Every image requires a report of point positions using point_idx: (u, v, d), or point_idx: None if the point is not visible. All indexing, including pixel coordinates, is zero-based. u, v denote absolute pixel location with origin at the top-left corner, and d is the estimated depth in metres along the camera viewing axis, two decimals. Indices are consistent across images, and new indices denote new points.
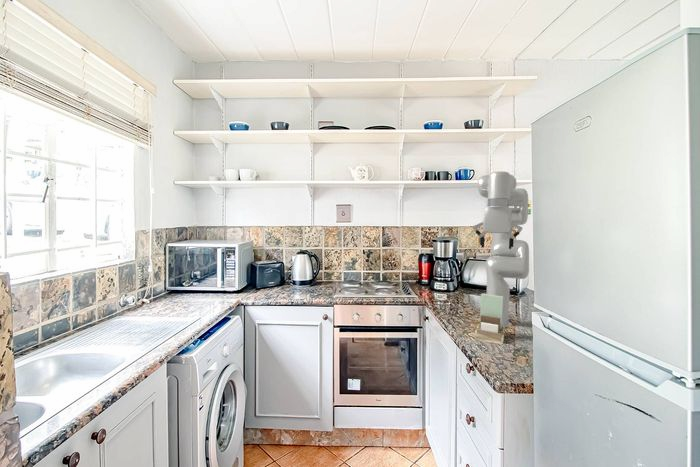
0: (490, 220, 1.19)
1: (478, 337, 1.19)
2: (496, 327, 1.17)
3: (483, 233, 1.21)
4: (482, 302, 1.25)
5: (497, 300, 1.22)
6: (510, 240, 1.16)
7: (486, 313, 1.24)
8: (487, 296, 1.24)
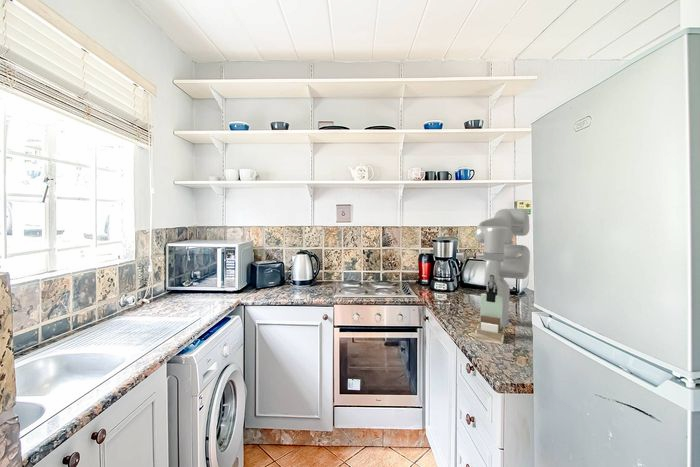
0: (498, 274, 1.20)
1: (478, 337, 1.19)
2: (496, 327, 1.17)
3: (495, 288, 1.19)
4: (482, 302, 1.25)
5: (497, 300, 1.22)
6: (497, 290, 1.27)
7: (486, 313, 1.24)
8: None
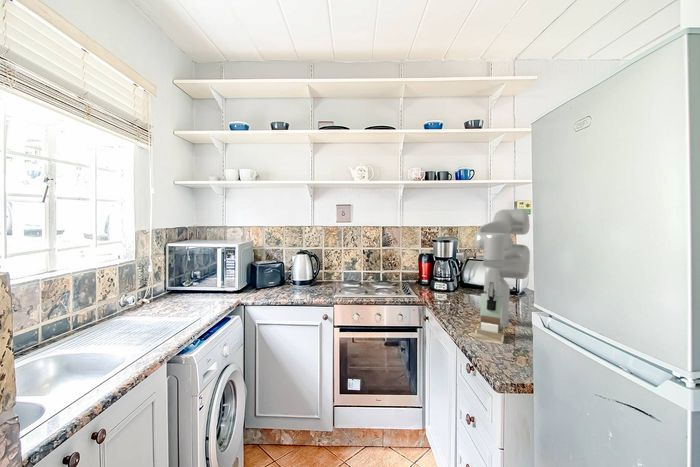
0: (498, 281, 1.21)
1: (478, 337, 1.19)
2: (496, 327, 1.17)
3: (495, 296, 1.22)
4: (482, 302, 1.25)
5: (497, 300, 1.22)
6: None
7: (486, 313, 1.24)
8: (487, 296, 1.24)
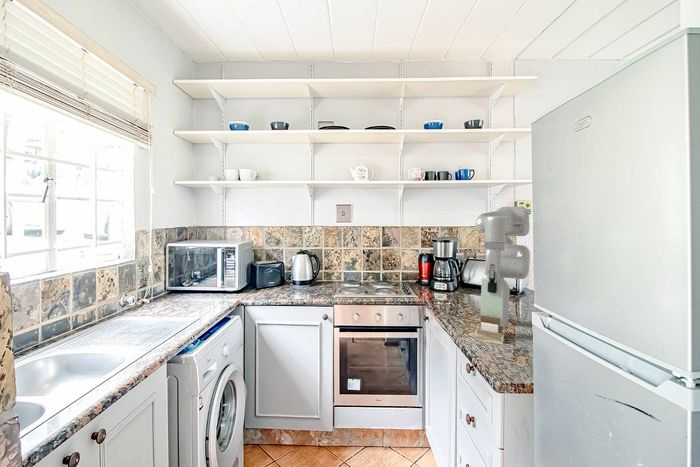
0: (499, 263, 1.21)
1: (478, 337, 1.19)
2: (496, 327, 1.17)
3: (496, 278, 1.22)
4: (483, 286, 1.25)
5: (498, 284, 1.22)
6: None
7: (487, 297, 1.24)
8: (488, 280, 1.24)
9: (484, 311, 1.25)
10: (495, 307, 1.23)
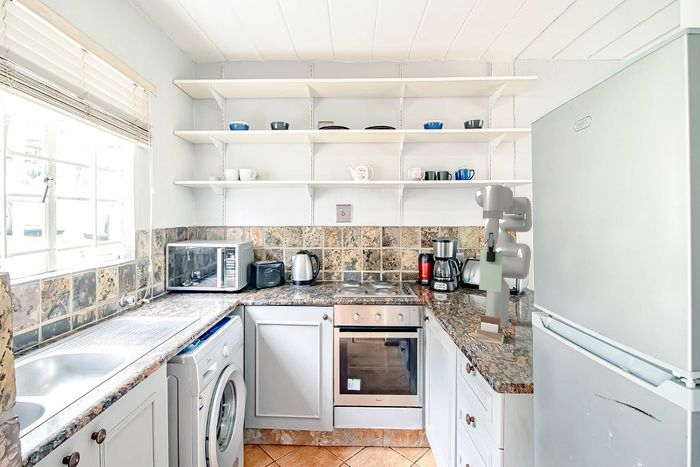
0: (497, 232, 1.21)
1: (478, 337, 1.19)
2: (496, 327, 1.17)
3: (494, 247, 1.22)
4: (481, 258, 1.25)
5: (496, 255, 1.22)
6: None
7: (486, 268, 1.24)
8: (486, 251, 1.24)
9: (482, 283, 1.25)
10: (494, 278, 1.23)
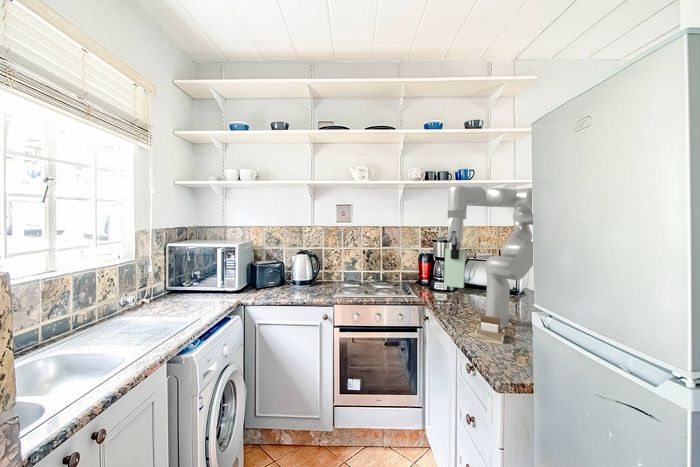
0: (460, 231, 1.27)
1: (478, 337, 1.19)
2: (496, 327, 1.17)
3: (458, 245, 1.28)
4: (446, 256, 1.32)
5: (460, 253, 1.29)
6: None
7: (450, 266, 1.31)
8: None
9: (447, 279, 1.32)
10: (457, 275, 1.30)
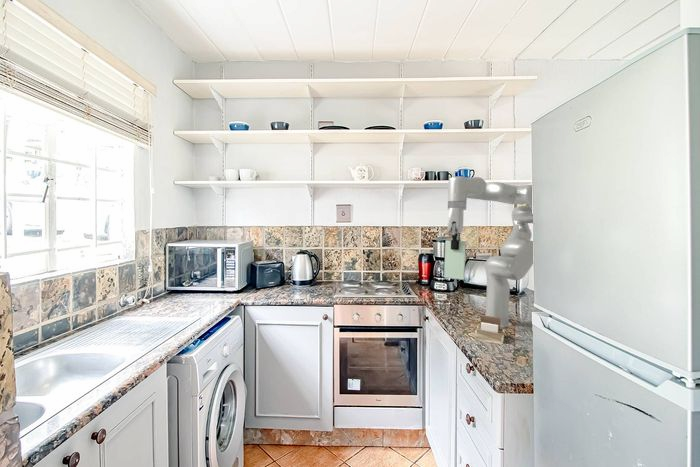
0: (460, 221, 1.27)
1: (478, 337, 1.19)
2: (496, 327, 1.17)
3: (458, 235, 1.28)
4: (446, 247, 1.32)
5: (460, 244, 1.29)
6: None
7: (450, 257, 1.31)
8: None
9: (447, 271, 1.32)
10: (457, 267, 1.30)
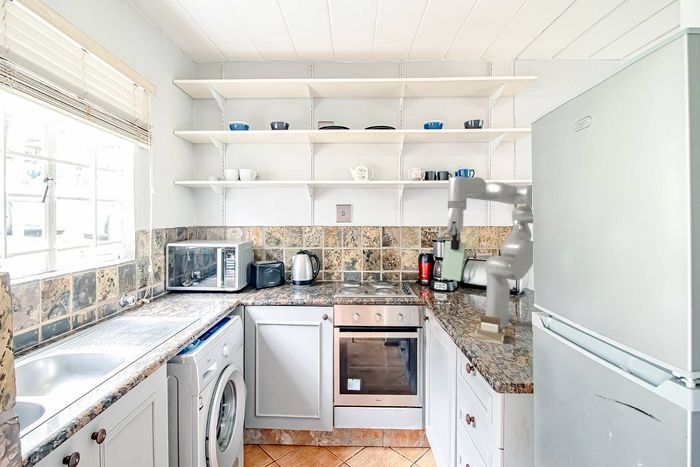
0: (460, 221, 1.27)
1: (478, 337, 1.19)
2: (496, 327, 1.17)
3: (458, 235, 1.28)
4: (445, 248, 1.32)
5: (459, 246, 1.29)
6: (459, 241, 1.31)
7: (449, 258, 1.31)
8: (450, 242, 1.31)
9: (444, 271, 1.32)
10: (455, 268, 1.30)
